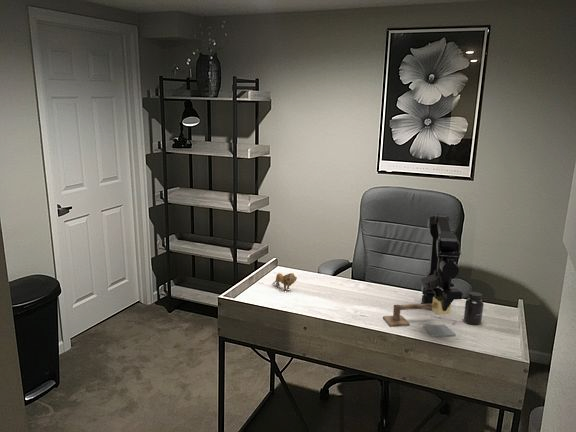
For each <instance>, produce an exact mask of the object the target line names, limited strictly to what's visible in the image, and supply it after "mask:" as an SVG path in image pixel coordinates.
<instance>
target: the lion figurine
mask: <svg viewBox="0 0 576 432" xmlns="http://www.w3.org/2000/svg"><path fill="white" fill-rule="evenodd" d="M275 276H276V277H275V280H274V282H272V285H274V284H275V288H276V287H278V288H279V286H281V284H282V285H283V292H284V291H287V289H290V286H292V284H294V283H295V282H297V279H298V277H297V276H295V273H293V272H291V273H288V274H287V273H286V274H285V275H283V274H282V273H279V272H278V273H277V274H276V275H275ZM280 283H281V284H280Z"/></svg>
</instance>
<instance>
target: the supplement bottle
mask: <svg viewBox="0 0 576 432" xmlns="http://www.w3.org/2000/svg"><path fill="white" fill-rule="evenodd" d="M482 299H483V294H482V293H481V292H476V291H470V292H469V295H468V297H467V299H466V300H465V304H464V305H465V306H464V313H463V322H465V323H467V324H468V325H472V326H478V325H481V324H482V320H483V312H484V306H485V305H484V302H483V300H482Z"/></svg>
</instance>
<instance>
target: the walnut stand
mask: <svg viewBox="0 0 576 432" xmlns="http://www.w3.org/2000/svg"><path fill="white" fill-rule="evenodd" d="M402 310H403V311H405V310H432V304H421V303H417V304H416V303H414V304H413V303H411V304H393V310H392V311H393V313H392V315H383V316H382V318H383V320H384V321H385V323H387V325H388V326H389V327H390V328H394V327H395V328H396V327H410V326H411V325H410V322H409V321H408V320H407V319H406V318H405V317H404V316H403V315H402V314H401V311H402Z"/></svg>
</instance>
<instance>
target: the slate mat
mask: <svg viewBox="0 0 576 432" xmlns="http://www.w3.org/2000/svg"><path fill="white" fill-rule="evenodd" d="M422 328H424V330H426V332H428V333H429V335H430V336H431V337H433V338H447V337H456V335H457V334H456V333H454V332H453V331H452V330H451V329H450V328H449V327H448V326H447V325H446V324H429V325H427V324H426V325H425V324H424V325H423V326H422Z"/></svg>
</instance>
